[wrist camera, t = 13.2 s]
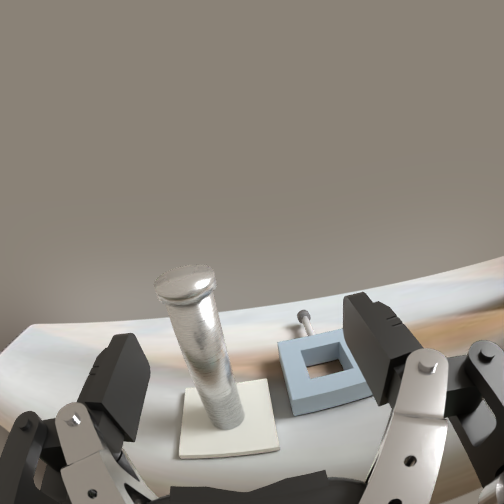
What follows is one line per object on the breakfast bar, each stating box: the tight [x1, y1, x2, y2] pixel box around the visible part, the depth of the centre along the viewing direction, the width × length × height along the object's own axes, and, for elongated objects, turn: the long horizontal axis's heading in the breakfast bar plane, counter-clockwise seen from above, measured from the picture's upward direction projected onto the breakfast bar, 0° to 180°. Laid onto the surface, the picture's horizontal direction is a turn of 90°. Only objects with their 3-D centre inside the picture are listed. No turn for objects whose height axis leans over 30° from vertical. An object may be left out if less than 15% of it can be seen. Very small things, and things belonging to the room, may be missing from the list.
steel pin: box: [154, 264, 245, 430], centre depth 23 cm, size 5×5×17 cm
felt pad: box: [179, 378, 280, 459], centre depth 27 cm, size 10×10×1 cm
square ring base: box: [277, 310, 373, 416], centre depth 34 cm, size 10×17×3 cm, turn 5°
